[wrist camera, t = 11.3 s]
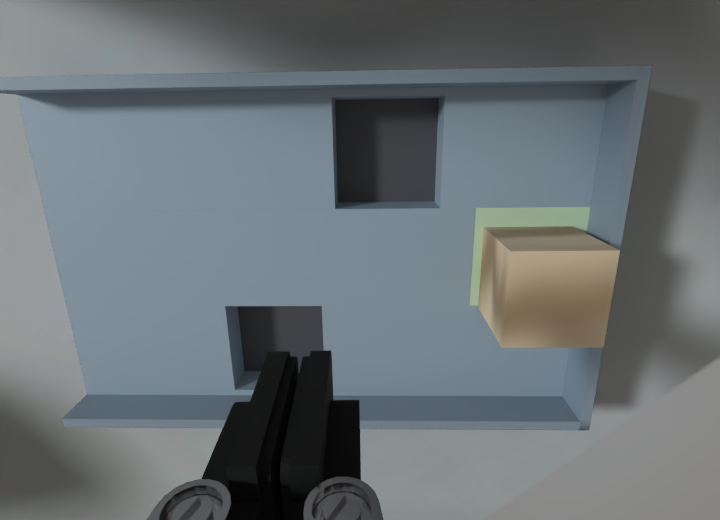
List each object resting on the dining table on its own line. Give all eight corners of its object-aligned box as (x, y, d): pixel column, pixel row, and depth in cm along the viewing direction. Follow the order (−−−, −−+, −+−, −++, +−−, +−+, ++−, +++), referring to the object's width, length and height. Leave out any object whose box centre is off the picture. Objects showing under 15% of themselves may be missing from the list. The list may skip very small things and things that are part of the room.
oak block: (483, 227, 25) (510, 251, 20) (571, 226, 25) (620, 250, 20) (477, 307, 26) (501, 347, 21) (561, 306, 26) (603, 347, 21)
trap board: (47, 86, 25) (-28, 77, 21) (597, 77, 24) (652, 65, 20) (110, 381, 31) (63, 427, 27) (554, 382, 30) (589, 430, 26)
